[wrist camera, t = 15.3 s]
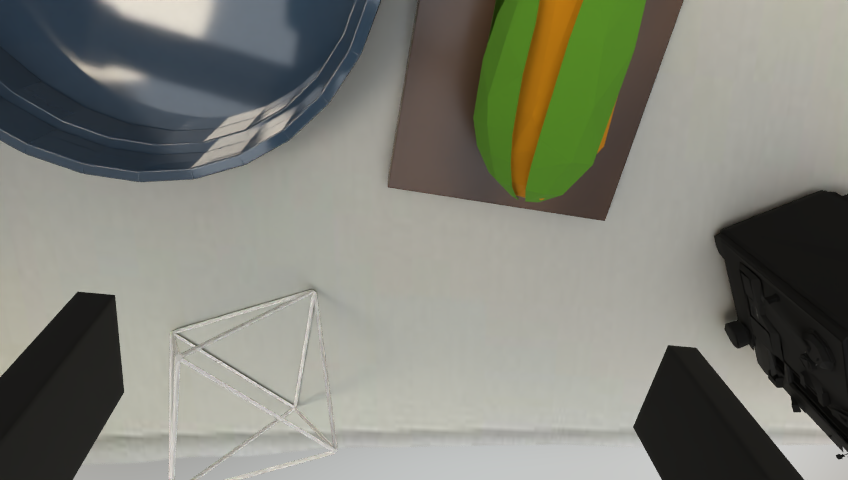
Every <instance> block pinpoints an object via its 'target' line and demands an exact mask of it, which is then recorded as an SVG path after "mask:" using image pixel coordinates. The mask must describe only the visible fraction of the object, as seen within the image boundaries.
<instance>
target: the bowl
mask: <svg viewBox="0 0 848 480" xmlns="http://www.w3.org/2000/svg"><path fill="white" fill-rule="evenodd" d="M380 2H381V0H0V140H1V141H2V142H4V143H6V144H8V145H10V146H11V147H13V148H15V149H17V150H19V151H21V152H22V153H25V154H27V155H30V156H33V157H36V158H39V159H41V160H44V161H47V162H50V163H53V164H56V165H59V166H62V167H65V168H68V169H71V170H73V171H76V172H79V173H84V174H89V175H95V176H102V177H109V178H116V179H122V180H129V181H136V182H153V181H172V180H190V179H197V178H200V177H204V176H208V175H211V174H215V173H218V172H222V171H225V170H229V169H232V168H236V167H239V166H243V165H246V164H248V163H250V162H251V161H253V160H255V159H257V158H259V157H260V156H262V155H264V154H266V153H267V152H269V151H271V150H273V149H275V148H276V147H278V146H280V145H282V144H284V143H285V142H287V141H289V140H290V139H292V138H293V137H294V136H295V135H296V134H297V133H298V132H299V131H300V130H301V129H302V128H303V127H304V126H305V125H307V124H308V123H309V122H310V121H311V120H312V119H313V118H314V117H315V116H316V115H317V114H318V113H319V112H320V111H322V110H323V109H324V108H325V107H326V106H327V105H328V104H329V102H331V100H332V99H333V97H334V95H335V94H336V92H337V91H338V89H339V88H340V86H341V85H342V83H343V82H344V80H345V79H346V77H347V76H348V74H349V73H350V71H351V70H352V68H353V66H354V65H355V63H356V62H357V60H358V59H359V57H360V55H361V53H362V51H363V48H364V45H365V43H366V40H367V37H368V34H369V32H370V29H371V26H372V24H373V21H374V18H375V15H376V13H377V10H378V7H379V5H380Z"/></svg>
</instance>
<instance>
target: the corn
mask: <svg viewBox="0 0 848 480" xmlns="http://www.w3.org/2000/svg"><path fill="white" fill-rule="evenodd" d="M645 3H646V0H496V2H495V7H494V12H493V18H492V23H491V28H490V33H489V38H488V43H487V48H486V51H485V54H484V57H483V61H482V67H481V73H480V80H479V86H478V92H477V98H476V104H475V110H474V116H473V120H474V127H475V134H476V142H477V147H478V149H479V151H480V153H481V156H482V158H483V160H484V163H485V165H486V167H487V170H488V172H489V173H490V174H491V175H492V176H493V177H494V178H495V179H496V180H497V181H498V183H499V184H500V185H501V186H502V187H503V188H504V189H505V190H506V191H507V192H508V193H509V194H510V195H511V196H513V197H514V198H516V199H517V200H518V199H519V198H518V197H516V195H517V196H520V197H524V198H525V201H526V202H537V203H538V202H541V201H545V200H548V199H551V198H554V197H558V196H561V195H563V194H564V193H565V192H566V191H567V190H568V189H569V188H570V187H571V186H572V185H573V184H574V183H575V182H576V181H577V180H578V179H579V178H580V177H581V176H582V175H583V174H584V173H585V172H586V171H587V170H588V169H589V168H590V167H591V166H592V165H593V163H594V160H595V157H596V154H597V153H598V152H599V151H600V150H601V149H602V148H603V147H604V144H605V141H606V137H607V133H608V130H609V126H610V123H611V119H612V115H613V112H614V108H615V104H616V101H617V97H618V94H619V91H620V88H621V86H622V83H623V80H624V77H625V75H626V72H627V69H628V66H629V64H630V61H631V58H632V55H633V53H634V50H635V46H636V41H637V37H638V33H639V29H640V24H641V20H642V16H643V12H644V7H645Z"/></svg>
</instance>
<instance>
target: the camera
mask: <svg viewBox="0 0 848 480" xmlns="http://www.w3.org/2000/svg"><path fill="white" fill-rule="evenodd" d="M714 238H715V242H716V247H717V249H718V251H719V253H720V254H721V256H722V257H723V258H724V260H725V264H726V268H727V272H728V277H729V281H730V286H731V290H732V295H733V299H734V303H735V308H736V312H737V317H738V320H735V321H732V322H729V323H726V324H725V331H726V333H727V335H728V337H729V339H730V340H731V342H732V344H733V345H734V346H735V347H737V348H741V347H744V346H746V345H748V344H749V345H750V346H751V348H752V349H753V350H754V348H755V352H756V356H757V361H758V364H759V365H760V367H761V368H762V369H763V371H764V372H765V373H766V374H767V375H768V378H769V379H770V381H771V382H772V383H773V384H774V385H775V386H776V387H777V388H784V389H785V390H786V391H787V393H788V394H789V395H790V396H791V400H792V408H793V412H801V410H800V408H801V409H802V410H803V411H804V412H805V413H807V414H808V415H809V416H810V417H811V418H812V419H813V420H814V422H815V423H816V424H817V425H818V426H819V427H820V428H821V429H822V430H823V431H824V432H825V433H826V434H827V435H828V437H829V438H830V439H831V440H832V441H833V442H834V443H835V444H836V445H837V446H838V447H839V448H840V449H841V450H842V451H843V447H844V448H845V449H846V451H847V452H848V194H847V195H844V196H841V195H839V194H837V193H836V192H827V191H823V190H821V191H818V192H816V193H813V194H811V195H808V196H806V197H803V198H801V199H798V200H796V201H793V202H790V203H788V204H785V205H783V206H780V207H778V208H775V209H773V210H770V211H768V212H765V213H763V214H760V215H758V216H755V217H753V218H750V219H748V220H745V221H743V222H740V223H737V224H735V225H732V226H730V227H727V228H725V229H722V230H721V234H718V235H716V236H714ZM842 446H843V447H842ZM836 457H837V458H838V459H842V457H845V456H844V455H843V454H842V455H840V454H838V455H836Z"/></svg>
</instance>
